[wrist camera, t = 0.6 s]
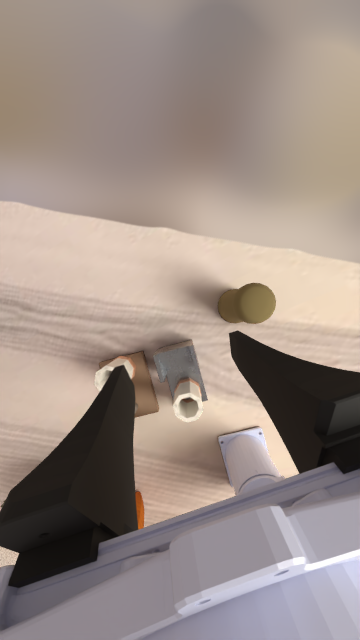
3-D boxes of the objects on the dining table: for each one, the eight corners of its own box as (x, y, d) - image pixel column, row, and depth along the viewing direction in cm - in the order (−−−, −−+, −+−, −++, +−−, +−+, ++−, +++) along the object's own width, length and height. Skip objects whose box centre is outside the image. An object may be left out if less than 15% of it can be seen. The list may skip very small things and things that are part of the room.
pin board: (159, 408, 34) (155, 421, 30) (117, 418, 35) (108, 433, 31) (143, 350, 34) (137, 356, 30) (101, 361, 35) (89, 368, 30)
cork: (225, 328, 33) (243, 335, 22) (212, 296, 33) (225, 288, 22) (257, 315, 33) (291, 316, 22) (244, 284, 33) (273, 269, 22)
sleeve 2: (202, 399, 34) (206, 418, 28) (179, 405, 34) (177, 425, 28) (196, 376, 34) (198, 389, 28) (172, 382, 34) (169, 397, 28)
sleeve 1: (140, 371, 33) (130, 384, 27) (120, 385, 33) (105, 401, 27) (125, 351, 33) (112, 360, 27) (106, 365, 33) (88, 376, 27)
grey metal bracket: (208, 399, 34) (212, 417, 28) (175, 407, 34) (172, 427, 28) (191, 339, 34) (193, 345, 28) (159, 348, 34) (153, 355, 28)
